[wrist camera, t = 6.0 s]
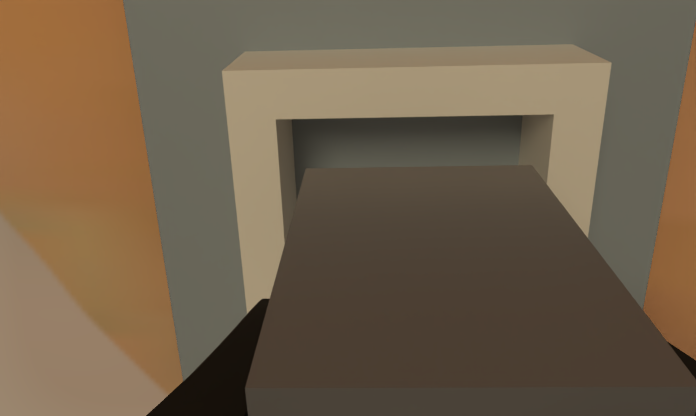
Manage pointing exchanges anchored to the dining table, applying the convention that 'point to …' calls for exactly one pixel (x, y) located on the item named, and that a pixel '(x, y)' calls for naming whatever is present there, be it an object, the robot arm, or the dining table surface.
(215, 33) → the socket
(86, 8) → the dining table surface
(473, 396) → the plug
